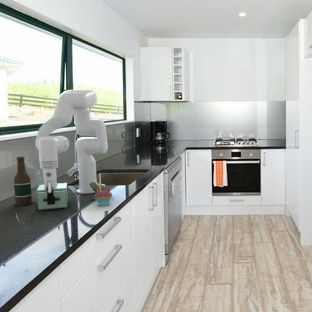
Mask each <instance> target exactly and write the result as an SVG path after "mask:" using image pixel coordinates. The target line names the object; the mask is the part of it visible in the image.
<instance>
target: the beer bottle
mask: <svg viewBox="0 0 312 312" xmlns="http://www.w3.org/2000/svg"><path fill="white" fill-rule="evenodd" d="M16 160H17V162H16V163H17V164H16V165H17V167H16V168H17V169H16V170H17V172H16V174H15V176H14V179H13V188H14V201H15V206H19V207H23V206H29V205H32V204H33V195H32V182H31V177H30V175H29V174H28V172H27V169H26V162H25V156H17V157H16Z"/></svg>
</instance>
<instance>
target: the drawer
mask: <svg viewBox="0 0 312 312" xmlns="http://www.w3.org/2000/svg"><path fill="white" fill-rule="evenodd" d="M54 195H55V204H53V205H47V191H43V192H39V193H38V198H37V200H38V199H39V209H45V210H48V209H47V208H55V209H59V208H58V207H66V201H65V190H56V191H54ZM66 208H67V207H66Z"/></svg>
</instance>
